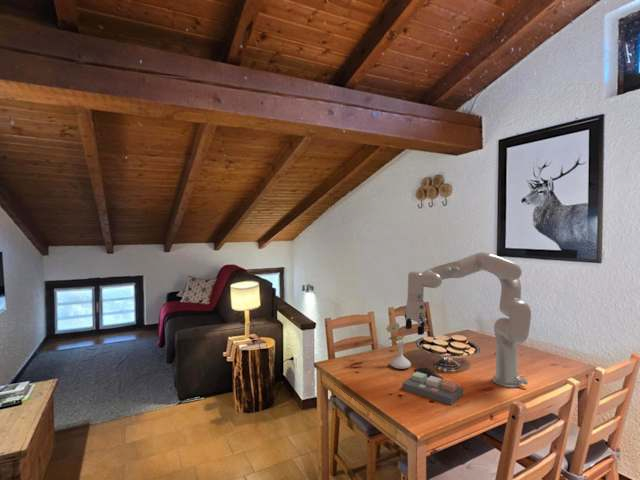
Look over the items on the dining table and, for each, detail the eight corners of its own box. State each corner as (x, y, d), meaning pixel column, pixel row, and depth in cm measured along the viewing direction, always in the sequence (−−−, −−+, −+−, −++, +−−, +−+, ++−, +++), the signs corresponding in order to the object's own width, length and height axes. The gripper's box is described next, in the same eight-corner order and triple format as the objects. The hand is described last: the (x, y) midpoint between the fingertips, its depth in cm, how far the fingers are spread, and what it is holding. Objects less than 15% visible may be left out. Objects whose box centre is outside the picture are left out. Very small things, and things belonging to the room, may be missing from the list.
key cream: (441, 385, 163) (441, 378, 163) (437, 389, 159) (437, 382, 159) (431, 381, 167) (431, 375, 167) (426, 385, 163) (426, 379, 163)
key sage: (426, 380, 168) (426, 374, 168) (421, 384, 164) (421, 378, 164) (416, 377, 172) (416, 371, 172) (411, 381, 168) (411, 375, 168)
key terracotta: (457, 389, 158) (457, 383, 158) (453, 394, 154) (453, 387, 154) (446, 386, 162) (446, 380, 162) (441, 390, 158) (441, 384, 158)
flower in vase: (409, 362, 196) (408, 319, 195) (412, 371, 185) (412, 324, 184) (385, 362, 197) (385, 319, 197) (387, 370, 186) (387, 324, 185)
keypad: (462, 393, 159) (462, 386, 159) (451, 405, 149) (451, 398, 148) (416, 379, 174) (416, 373, 174) (402, 389, 164) (402, 382, 164)
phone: (425, 367, 188) (443, 378, 174) (425, 369, 188) (443, 380, 174) (413, 369, 186) (430, 380, 171) (413, 371, 186) (430, 382, 171)
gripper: (433, 300, 162) (432, 336, 163) (411, 293, 179) (410, 326, 179) (420, 301, 160) (419, 337, 160) (398, 294, 176) (398, 327, 176)
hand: (414, 331), depth 170 cm, fingers open, 9 cm apart
